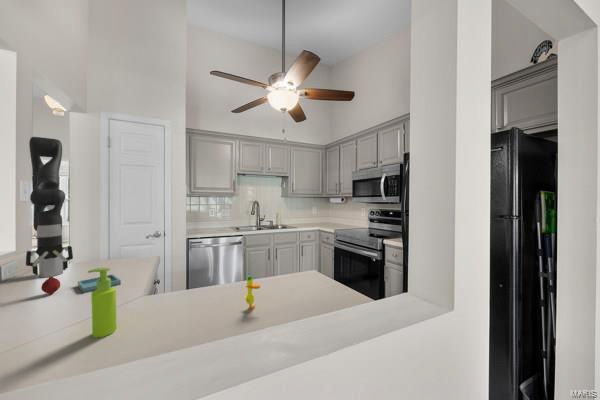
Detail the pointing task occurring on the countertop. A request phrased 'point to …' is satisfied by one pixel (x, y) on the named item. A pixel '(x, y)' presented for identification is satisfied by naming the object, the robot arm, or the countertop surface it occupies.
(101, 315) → the soap dispenser
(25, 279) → the countertop surface
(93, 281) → the tray
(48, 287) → the onion
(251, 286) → the toy figure
